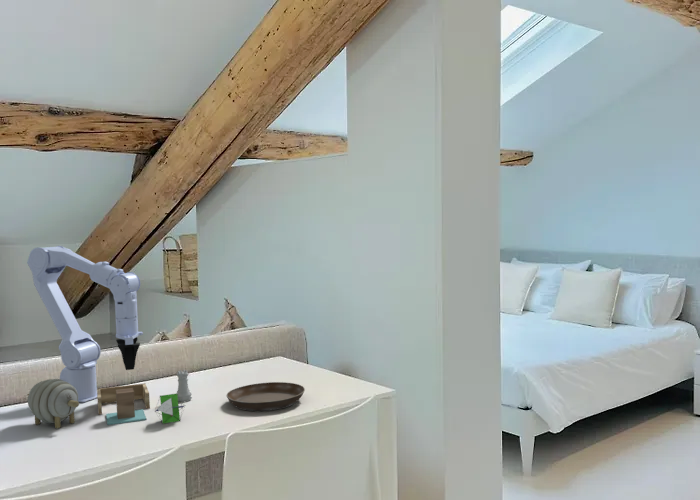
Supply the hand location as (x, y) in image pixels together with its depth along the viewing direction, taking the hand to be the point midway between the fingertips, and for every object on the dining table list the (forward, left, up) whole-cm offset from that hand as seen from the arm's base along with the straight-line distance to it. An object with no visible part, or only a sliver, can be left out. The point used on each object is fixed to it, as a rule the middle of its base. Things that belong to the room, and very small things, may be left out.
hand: (128, 366), depth 185 cm
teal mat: (+10, -13, -9) cm, 19 cm away
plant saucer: (+37, +10, -10) cm, 40 cm away
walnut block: (+10, -13, -9) cm, 19 cm away
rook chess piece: (+14, +5, -10) cm, 18 cm away
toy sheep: (-3, -23, -10) cm, 25 cm away
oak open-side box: (+2, -5, -9) cm, 11 cm away
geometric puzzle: (+23, -12, -10) cm, 28 cm away
